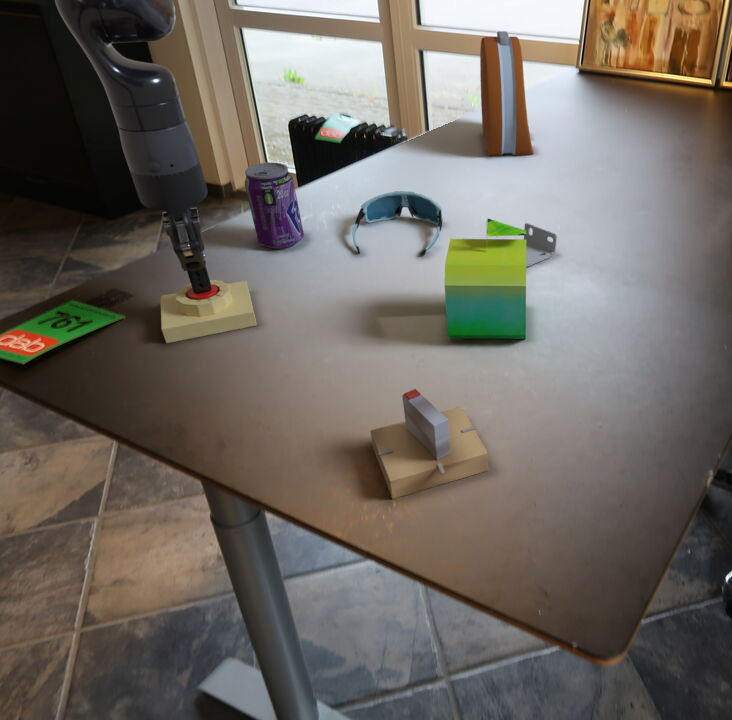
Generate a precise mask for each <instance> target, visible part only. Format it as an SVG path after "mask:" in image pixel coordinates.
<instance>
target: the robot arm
mask: <svg viewBox="0 0 732 720" xmlns="http://www.w3.org/2000/svg"><path fill="white" fill-rule="evenodd" d="M54 3H55V6H56V8H57V11H58V13H59V15H60V17H61V18H62V20H63V22H64V24H65V25H66V27H67V29H68V30H69V31H70V33H71V34H72V36H73V37H74V39H75V41H76V42H77V43H78V45H79V46H80V48H81V49H82V51H83V52H84V54H85V55H86V57H87V58H88V60H89V62H90V63H91V65H92V67H93V69H94V70H95V72H96V74H97V76H98V77H99V80H100V82H101V84H102V86H103V88H104V91H105V93H106V96H107V99H108V102H109V104H110V109H111V110H112V114H113V116H114V119H115V123H116V126H117V129H118V133H119V138H120V144H121V148H122V152H123V154H124V158H125V161H126V163H127V166H128V170H129V173H130V176H131V178H132V182H133V185H134V188H135V191H136V193H137V197H138V199H139V202H140V204H141V205H142V206H143V207H145V208H147V209H149V210H155V211H158V210H159V211H163V212H162V213H161V214H162V217H163V220H162V225H163V227H164V231H165V234H166V235H167V236H168V237H169V239H170V242H171V245H172V249H173V252H174V254H175V255H176V257H177V258H178V260H179V263H180V265H181V269H182V270H183V272H187V275H188V279H189V282H190V284H191V286H192V289H193V292H194V293H196V294H199V293H205V292H210V291H211V289H212V288H211V282H210V280H211V279H210V276H209V273H208V269H207V265H206V264H207V260H206V259H205V258H206V254H205V253H204V252H205V249H206V248H205V241H204V235H203V232H202V226H201V225H202V224H201V220H200V218H201V217H200V214H199V210H198V207H193V205H197V204H199V203H201V202H202V201H204V200H205V199H206V198H207V195H208V193H209V190H208V187H207V183H206V180H205V179H206V178H205V176H204V172H203V168H202V164H201V160H200V157H199V153H198V150H197V146H196V143H195V139H194V137H193V133H192V131H191V129H190V126H189V124H188V122H187V118H186V114H185V112H184V108H183V105H182V100H181V97H180V93H179V90H178V89H179V88H178V86H177V82H176V79H175V77H174V75H173V72H172V71H171V70H170V69H169V68H167V67H166V66H164V65H161V64H157V63H152V62H144V61H139V60H134V59H131V58H127V57H126V56H124V55H122V54H121V53H120V52H119V51H118V50H117V49H116V48H115V47H114V45H112V44H126V43H129V44H130V43H142V42H143V43H146V42H156V41H162V40H164V39H165V38H167V37H168V36H169V35H170V34H171V33H172V32H173V30H174V27H175V24H176V19H177V17H176V14H177V13H176V7H175V3H174V0H54Z"/></svg>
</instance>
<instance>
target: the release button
mask: <svg viewBox="0 0 732 720" xmlns="http://www.w3.org/2000/svg"><path fill="white" fill-rule="evenodd" d="M211 288H212V289H211V291H210V292H205V293H199V294H196V293H194V292H193V289H192V288H191V289H189V290H188V297H189V299H191V300H203V299H208V298H210V297H213V296H215V295H216V294H217V293H218V290H217V287H216V286H215V285H213V284H211Z"/></svg>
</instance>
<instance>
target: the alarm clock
mask: <svg viewBox="0 0 732 720" xmlns="http://www.w3.org/2000/svg"><path fill="white" fill-rule="evenodd" d="M496 34H497V35H496V36H484V37H481V40H480V51H479V53H480V55H479V59H480V61H479V62H480V63H479V64H480V66H479V68H480V70H479V71H480V74H479V75H480V77H479V78H480V103H481V123H482V124H481V125H482V134H483V139H484V144H485V149H486V153H487V156H489V157H501V156H503V155H504V154H512V155H513V156H531V155H534V154H535V152H534V148H533V146H532V140H531V139H532V138H531V134H530V129H529V121H528V110H527V103H526V90H525V77H524V60H523V54H522V47H521V43H520V39H519V37H518V36H510V35H509V33H508V32H507V31H505V30H504V31H501V30H500V31H497V32H496Z"/></svg>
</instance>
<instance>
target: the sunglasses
mask: <svg viewBox="0 0 732 720" xmlns="http://www.w3.org/2000/svg"><path fill="white" fill-rule="evenodd" d="M360 207H361V208H360V209H359V211H358V213H357V216H356V218H355V222H354V224H353V226H352V229H351V230H352V231H351V232H352V240H353V244H354V246H355V248H356V250H357V254H358V255H360V254H361V251H360V247H359V245H358V243H357V241H356V233H357V230H358V229H359V227H360V225H361V224H360V223H361V221H362V219H363V221H364V222H366V223H370V224H371V223H377V222H380V221H381V222H382V221H388V220H393V219H395V218H397V217H398V218H399V217H401V214H402V212H403V208H407V209H408V212H409V214H410V215H411V217H412V218H414V217H415V218H417V219H419V220H420V221H423V222H429V223H430V224H434V225H436V233H435V235H434V237H433V238H432V240H431V242H430V243H429V244H428V245H427V246H426V247H425V248H424V249H423V250H422V252H421V253H420V255H421V256H422V257H424V256H425V255H426V254H427V252H429V250H431V249H432V247H434V246H435V244H436V242H437V241H438V239H439V237H440V234H441V233H440V232H441V231H442V227H443V220H444V219H443V214H442V207H441V205H440V204H439V203H438V202H436V200H433V199H432V198H430V197H428V196H426V195H425V194H421V193H418V192H414V191H408V190H396V191H395V190H394V191H392V192H391V191H390V192H386V193H382V194H380V195H377V196H374V197H372V198H370V199H369V200H366V201H365V202H363V204H361V206H360Z"/></svg>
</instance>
